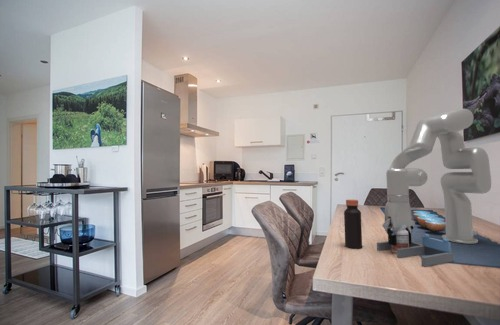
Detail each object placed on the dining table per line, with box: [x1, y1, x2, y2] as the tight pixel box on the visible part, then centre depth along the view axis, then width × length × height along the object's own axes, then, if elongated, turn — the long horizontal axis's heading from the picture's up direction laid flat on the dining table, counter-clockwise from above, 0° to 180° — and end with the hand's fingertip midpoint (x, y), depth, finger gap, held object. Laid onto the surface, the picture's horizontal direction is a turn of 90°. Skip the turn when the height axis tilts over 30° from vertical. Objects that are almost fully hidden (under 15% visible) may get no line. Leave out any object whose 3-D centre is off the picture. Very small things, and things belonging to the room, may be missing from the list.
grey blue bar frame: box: [376, 233, 454, 268], centre depth 93 cm, size 14×20×8 cm
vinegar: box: [343, 199, 363, 250], centre depth 105 cm, size 7×7×20 cm
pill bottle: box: [390, 225, 409, 254], centre depth 97 cm, size 6×6×11 cm
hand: (399, 243), depth 97 cm, fingers open, 7 cm apart
